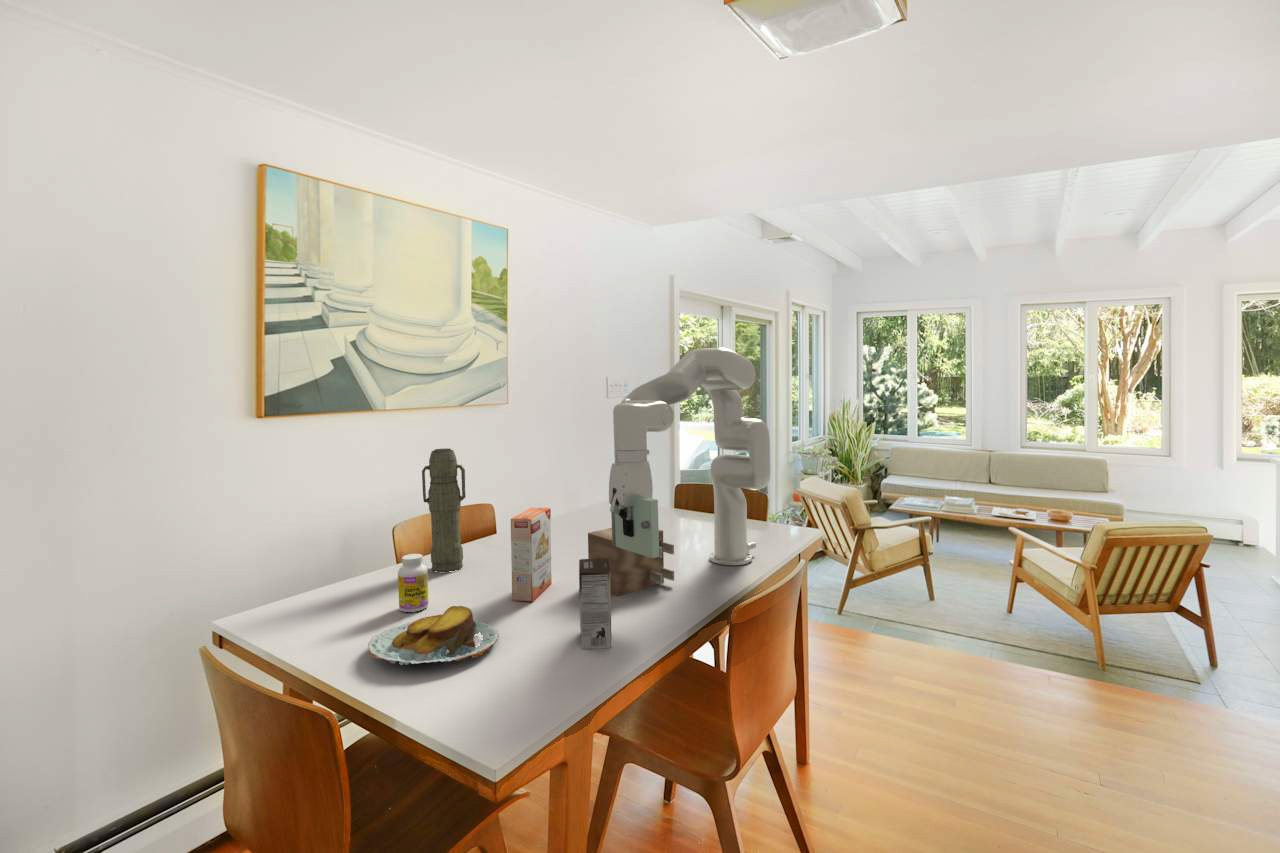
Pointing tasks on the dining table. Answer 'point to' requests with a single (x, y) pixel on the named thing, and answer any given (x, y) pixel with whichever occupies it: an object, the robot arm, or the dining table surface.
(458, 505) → the thermos
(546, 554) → the cracker box
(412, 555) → the supplement bottle
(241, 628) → the dining table surface
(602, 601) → the coffee box
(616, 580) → the cabinet
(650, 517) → the door
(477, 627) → the food on plate
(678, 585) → the dining table surface
